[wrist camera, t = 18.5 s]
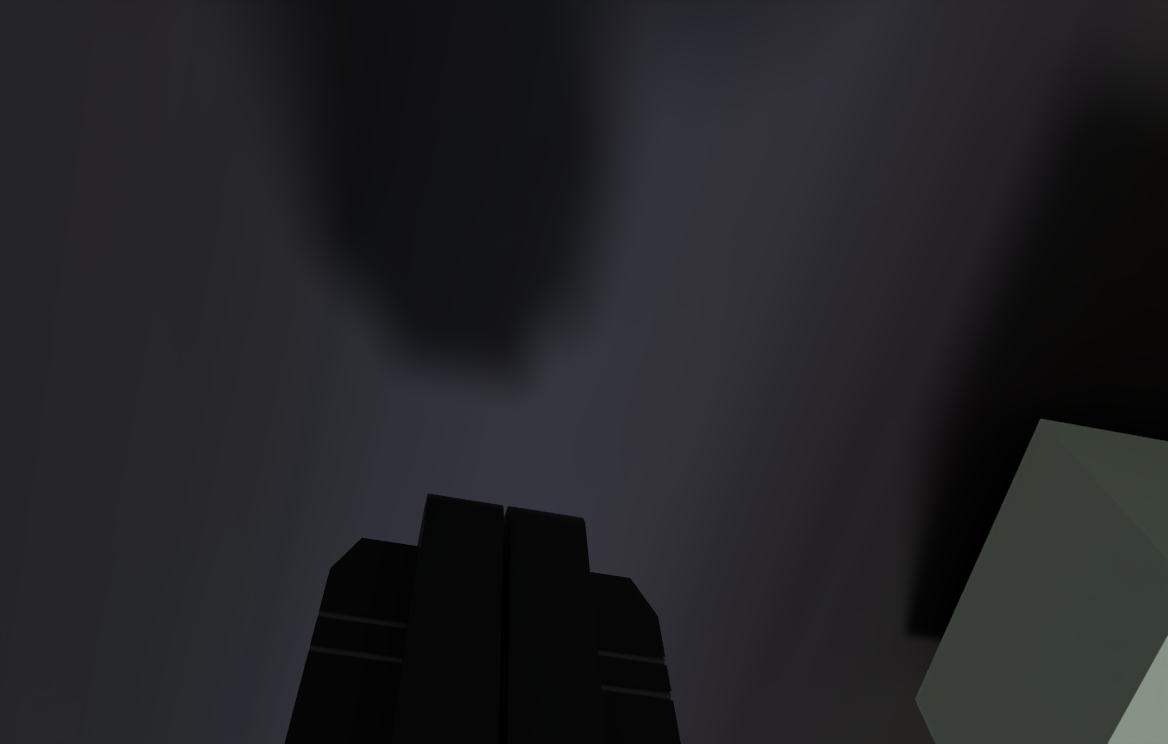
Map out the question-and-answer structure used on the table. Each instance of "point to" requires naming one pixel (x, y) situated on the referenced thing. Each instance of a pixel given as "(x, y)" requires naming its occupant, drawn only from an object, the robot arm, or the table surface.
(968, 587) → the tray
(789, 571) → the table surface
